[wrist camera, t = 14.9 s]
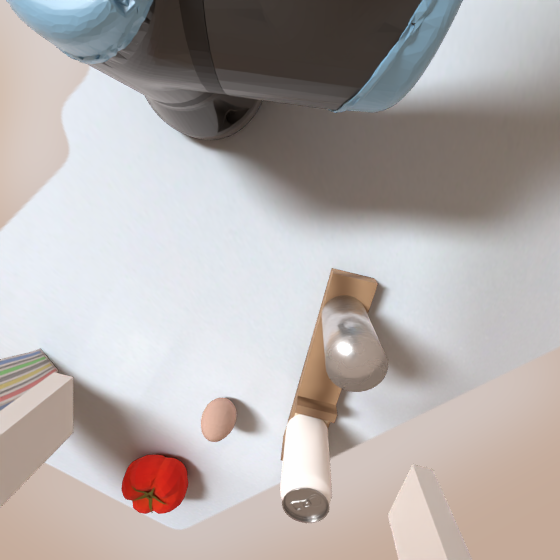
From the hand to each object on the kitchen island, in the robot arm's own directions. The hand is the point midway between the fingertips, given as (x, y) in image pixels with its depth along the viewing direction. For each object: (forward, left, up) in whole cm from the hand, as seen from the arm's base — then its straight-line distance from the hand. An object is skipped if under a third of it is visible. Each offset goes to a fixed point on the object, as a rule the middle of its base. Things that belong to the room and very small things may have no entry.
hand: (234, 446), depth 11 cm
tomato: (-14, -45, -32) cm, 57 cm away
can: (+9, -26, -29) cm, 40 cm away
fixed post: (+9, -6, -29) cm, 31 cm away
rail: (+9, -16, -32) cm, 36 cm away
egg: (-5, -27, -32) cm, 42 cm away
